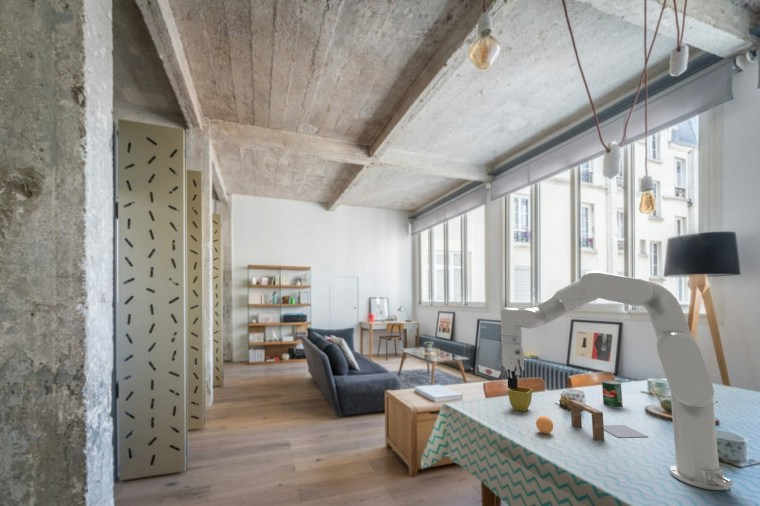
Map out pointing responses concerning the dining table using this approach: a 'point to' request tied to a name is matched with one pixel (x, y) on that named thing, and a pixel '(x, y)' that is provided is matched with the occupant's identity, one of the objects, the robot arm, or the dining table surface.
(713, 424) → the robot arm
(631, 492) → the dining table surface
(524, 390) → the flower pot
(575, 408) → the bridge
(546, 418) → the ball
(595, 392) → the dining table surface
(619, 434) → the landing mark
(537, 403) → the dining table surface
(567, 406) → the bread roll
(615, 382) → the canned tomato
